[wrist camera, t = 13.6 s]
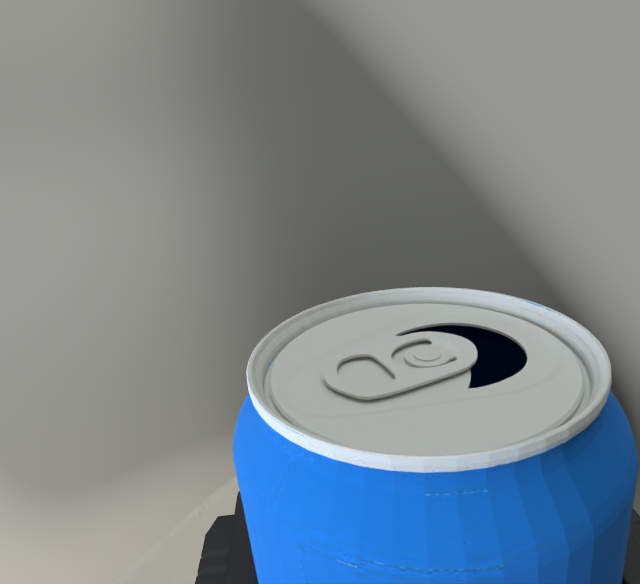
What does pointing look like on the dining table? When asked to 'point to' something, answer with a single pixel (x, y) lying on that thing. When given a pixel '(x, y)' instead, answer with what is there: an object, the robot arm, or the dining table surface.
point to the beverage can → (434, 445)
